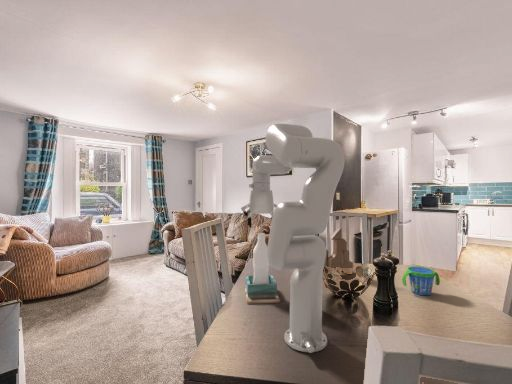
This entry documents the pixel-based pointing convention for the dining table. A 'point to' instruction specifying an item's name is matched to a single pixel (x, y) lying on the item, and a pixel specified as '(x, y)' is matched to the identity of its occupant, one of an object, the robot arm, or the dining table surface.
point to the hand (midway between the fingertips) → (261, 226)
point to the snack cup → (421, 279)
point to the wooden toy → (338, 252)
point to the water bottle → (260, 261)
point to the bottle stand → (261, 291)
